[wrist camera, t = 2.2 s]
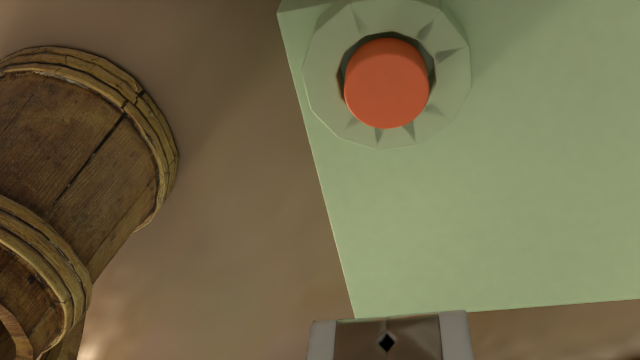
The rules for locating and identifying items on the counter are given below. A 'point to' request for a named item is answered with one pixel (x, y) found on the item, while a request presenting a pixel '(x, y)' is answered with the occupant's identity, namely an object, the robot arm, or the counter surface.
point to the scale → (480, 152)
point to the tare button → (386, 83)
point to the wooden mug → (70, 189)
